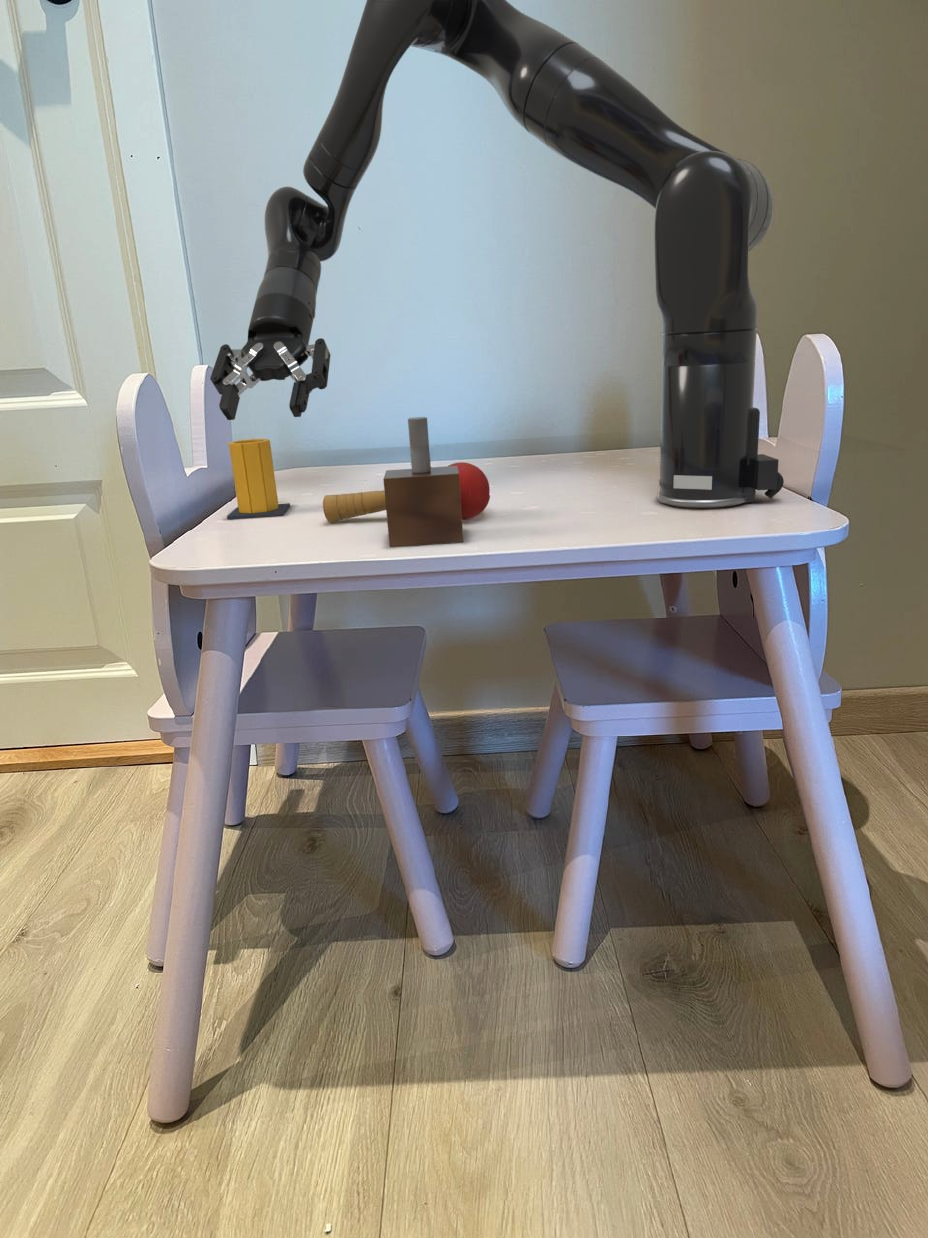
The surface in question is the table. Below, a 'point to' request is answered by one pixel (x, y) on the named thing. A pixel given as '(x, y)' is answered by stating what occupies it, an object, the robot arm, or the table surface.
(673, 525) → the table surface
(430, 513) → the stand
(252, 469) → the sleeve
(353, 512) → the kendama
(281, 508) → the coaster
